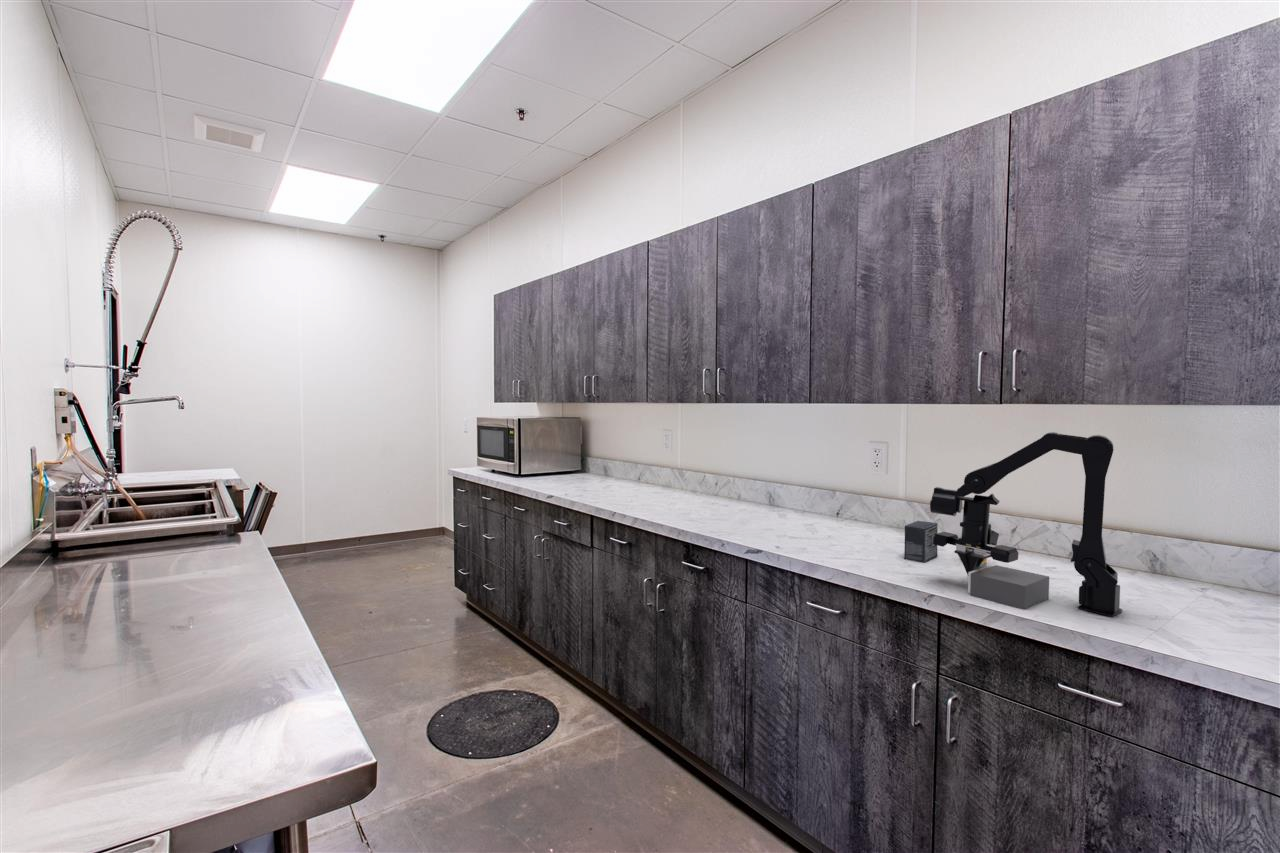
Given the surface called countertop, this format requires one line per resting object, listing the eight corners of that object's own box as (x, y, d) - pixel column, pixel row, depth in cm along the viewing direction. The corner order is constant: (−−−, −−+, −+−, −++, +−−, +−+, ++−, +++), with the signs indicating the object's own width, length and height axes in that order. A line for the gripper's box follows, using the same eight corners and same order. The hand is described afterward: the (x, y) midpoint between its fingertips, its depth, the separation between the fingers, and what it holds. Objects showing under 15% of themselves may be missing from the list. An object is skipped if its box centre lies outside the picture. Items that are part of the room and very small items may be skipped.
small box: (916, 552, 184) (916, 519, 183) (938, 556, 179) (938, 522, 179) (902, 559, 176) (903, 524, 176) (925, 563, 172) (926, 528, 171)
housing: (1048, 598, 141) (1049, 576, 140) (1024, 609, 133) (1025, 586, 133) (995, 585, 151) (995, 565, 150) (970, 595, 143) (970, 573, 143)
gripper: (1030, 523, 145) (1025, 585, 146) (955, 508, 160) (950, 564, 161) (1010, 529, 138) (1004, 593, 140) (933, 513, 154) (929, 570, 155)
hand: (971, 579), depth 149 cm, fingers closed
